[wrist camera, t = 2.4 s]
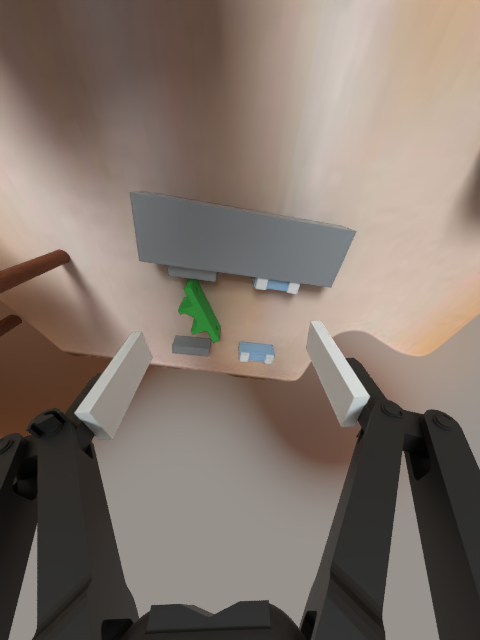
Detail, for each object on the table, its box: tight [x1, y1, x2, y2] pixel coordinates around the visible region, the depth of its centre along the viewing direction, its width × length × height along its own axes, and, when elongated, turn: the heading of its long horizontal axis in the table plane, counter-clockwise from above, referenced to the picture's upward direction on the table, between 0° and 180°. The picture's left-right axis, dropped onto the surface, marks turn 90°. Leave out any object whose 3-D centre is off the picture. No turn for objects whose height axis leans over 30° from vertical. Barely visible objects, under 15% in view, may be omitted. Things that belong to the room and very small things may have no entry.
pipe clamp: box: [178, 278, 220, 343], centre depth 34 cm, size 11×4×5 cm, turn 19°
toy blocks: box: [130, 191, 356, 364], centre depth 33 cm, size 28×26×4 cm
